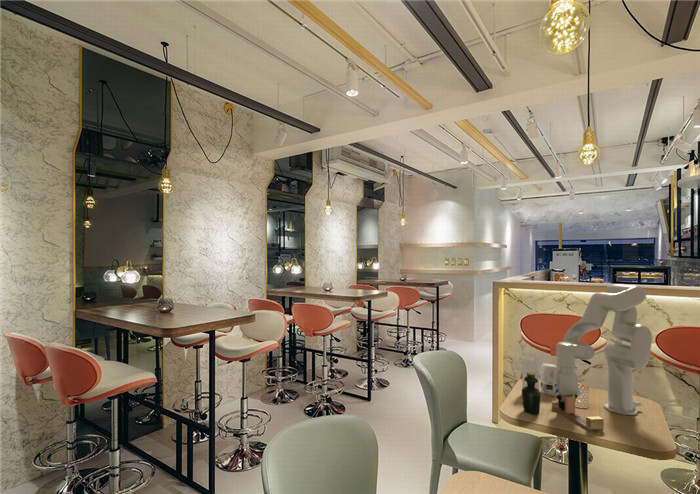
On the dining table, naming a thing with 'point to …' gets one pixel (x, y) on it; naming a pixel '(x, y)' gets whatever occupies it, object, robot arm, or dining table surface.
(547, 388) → the supplement can
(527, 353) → the clear plastic bottle
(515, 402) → the dining table surface
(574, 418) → the track
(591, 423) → the post
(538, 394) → the potion bottle
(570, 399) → the block
